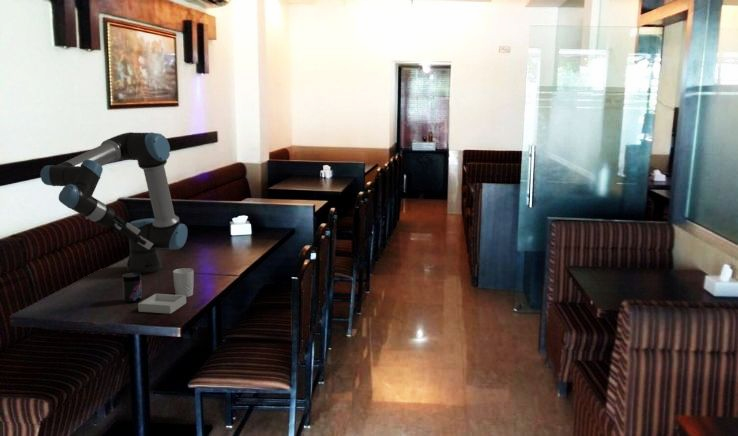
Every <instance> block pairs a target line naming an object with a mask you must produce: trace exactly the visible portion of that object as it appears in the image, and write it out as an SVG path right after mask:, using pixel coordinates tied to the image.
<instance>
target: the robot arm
mask: <svg viewBox="0 0 738 436" xmlns="http://www.w3.org/2000/svg"><path fill="white" fill-rule="evenodd" d="M170 152H171V146H170V142H169V141H168V139H167V138H166V137H165V135H163V134H162V133H158V132H157V133H156V132H129V131H128V132H125V133H121V134H117V135H115V136H112V137H110V138H108V139H106V140H104V141H102V142H101V144H100V145H98V146H97V147H94V148H92V149H89V150H87V151H86V152H83V153H81V154H78V155H77V156H74V157H73V158H70V159H68V160H66V161H63V162H61V163H59V164H57V165H53V164H51V165H45V166H43V168H42V169H40V179H41V182H42V183H43V184H44V185H45V186H53V187H63V188H62V190H60V192H59V194H58V201H59V202H60V203H61V204H62V205H64V206H65V207H67V208H68V209H70V210H72V211H74V212H76V213H78V214H79V215H82V216H83V217H85V220H88V219H89V221H92V222H94V223H95V224H97V225H99V226H100V227H102V228H106V227H108V226H110V227H111V228H112V229H113V230H115V231H117V232H119V233H121V234H122V235H123V236H125V237H126V238H128V242H129V245H128V247H129V256H128V259H127V264H126V271H127V273H140V274H147V273H153V272H157V271H160V270H161V269H163V268H162V261H161V259H160V256H159V254H158V251H157V250H158V249H164V250H165V249H166V250H179V249H181V248H182V247H184V245H185V244H186V242H187V238H188V234H189V233H188V227H187V225H186V224H184V223H181V221H180V217H179V216H178V215H176V214H175V211H174V205H173V202H172V197H171V192H170V187H169V183H168V178H167V174H166V168H165V166H166V165H167V163H168V162H167V161H168V159H169V158H170V156H171V155H170V154H171V153H170ZM126 160H127V161H128V160H129V161H137V165H138V168H140V169H141V170H143V174H144V177H145V182H146V186H147V190H148V195H149V199H150V204H151V207H152V212H153V217H154V218H153V217H151V218H149V217H148V218H142V219H136V220H132V221H130V222H128V219H127V218H124V219H123V217H120V216H118V215H117V214H116V210H114V209H113V208H112V207H110V206H108V205H107V204H105V203H104V202H102V201H100V200H99V199H98V198H95V197H94V196H93V194H94V193H95V190H96V187H97V186H98V183H99V181H100V179H101V176H102V173H103V166H106V164H109V163H117V162H120V161H126Z"/></svg>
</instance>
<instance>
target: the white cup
mask: <svg viewBox="0 0 738 436" xmlns="http://www.w3.org/2000/svg"><path fill="white" fill-rule="evenodd" d="M194 273H195V272H194V269H193V268H189V267H187V268H186V267H183V268H177V269H174V270H173V271H172V275H173V285H174V293H175V294H174V295H186V298H188V297H191V296H193V295H194V282H195V278H194V275H195V274H194Z"/></svg>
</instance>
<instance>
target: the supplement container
mask: <svg viewBox="0 0 738 436" xmlns="http://www.w3.org/2000/svg"><path fill="white" fill-rule="evenodd" d="M121 277H122V289H123V291H122V292H123V301H124V302H125V303H127V304H137V303H140V302H142V301H143V291H142V289H143V287H142V273H131V272H125V273H124V274H122V275H121Z"/></svg>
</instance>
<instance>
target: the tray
mask: <svg viewBox="0 0 738 436" xmlns="http://www.w3.org/2000/svg"><path fill="white" fill-rule="evenodd" d="M137 303H138V304H137V305H138V306H137V309H138V312H139V313H141V312H142V313H153V314H154V313H157V314H173V313H174V312H175V311H177V310H178V309H180V308H182V306H184V305H186V304H187V297H186V295H176V294H169V293H166V294H165V293H154V294H153V295H150V296H149V297H147V298H145V299H143V300H141V301H140V302H137Z"/></svg>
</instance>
